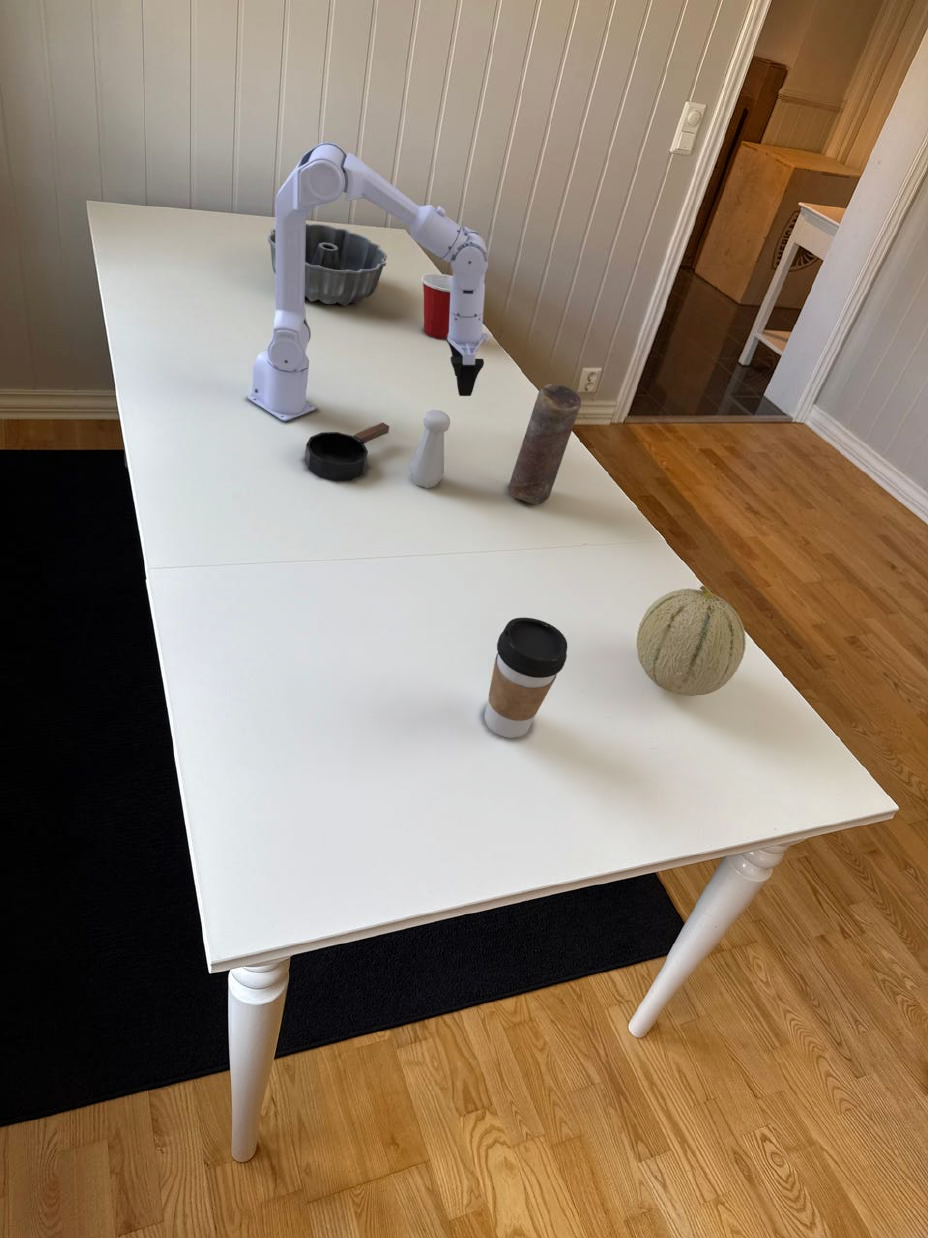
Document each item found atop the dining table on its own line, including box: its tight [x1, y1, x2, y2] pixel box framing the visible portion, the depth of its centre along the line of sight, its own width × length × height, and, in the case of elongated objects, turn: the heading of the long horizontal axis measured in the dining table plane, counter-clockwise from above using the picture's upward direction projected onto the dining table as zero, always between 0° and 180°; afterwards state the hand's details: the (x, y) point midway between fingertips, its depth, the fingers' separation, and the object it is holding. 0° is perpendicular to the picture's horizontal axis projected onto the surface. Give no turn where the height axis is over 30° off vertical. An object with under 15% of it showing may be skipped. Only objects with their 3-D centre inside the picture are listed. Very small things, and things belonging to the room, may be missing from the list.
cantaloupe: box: [636, 585, 747, 697], centre depth 121 cm, size 15×15×15 cm
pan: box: [304, 422, 390, 482], centre depth 150 cm, size 17×10×4 cm, turn 143°
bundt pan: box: [267, 223, 388, 306], centre depth 198 cm, size 26×26×10 cm
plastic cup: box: [420, 273, 453, 340], centre depth 193 cm, size 11×11×12 cm
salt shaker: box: [409, 409, 451, 489], centre depth 146 cm, size 6×6×13 cm
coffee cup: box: [484, 617, 568, 739], centre depth 108 cm, size 8×8×15 cm
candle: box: [507, 383, 582, 505], centre depth 147 cm, size 8×7×20 cm
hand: (462, 384), depth 157 cm, fingers open, 7 cm apart
